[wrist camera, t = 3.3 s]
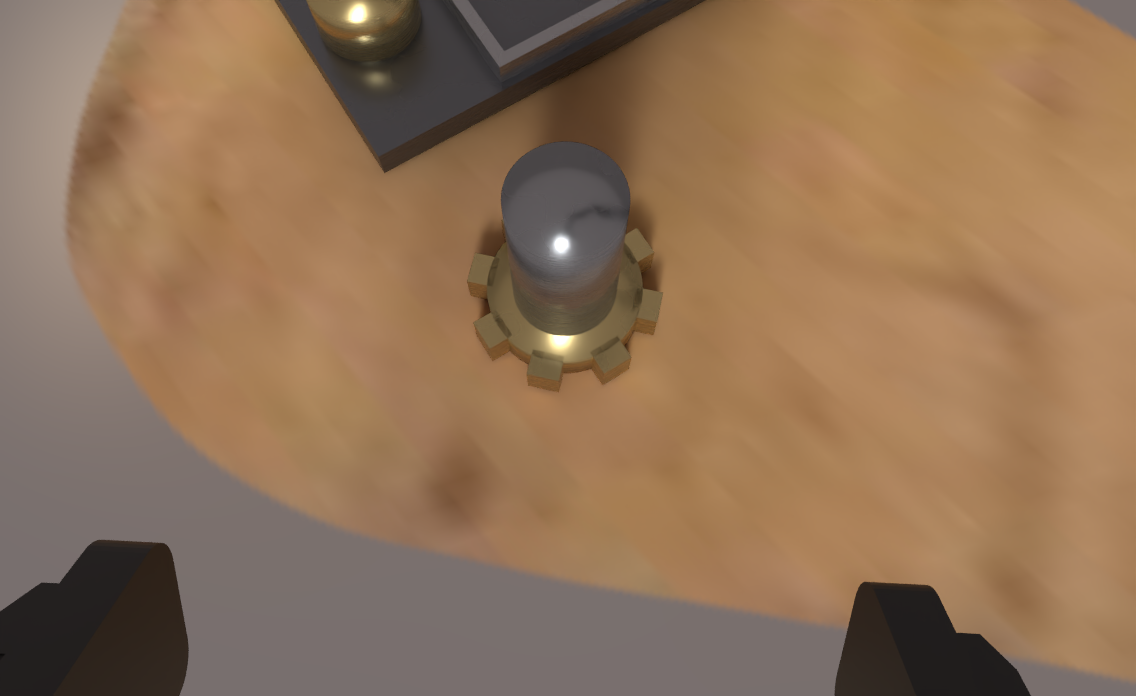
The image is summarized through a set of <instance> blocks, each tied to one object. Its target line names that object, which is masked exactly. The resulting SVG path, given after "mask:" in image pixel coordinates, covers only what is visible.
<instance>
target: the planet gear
mask: <svg viewBox="0 0 1136 696" xmlns="http://www.w3.org/2000/svg"><path fill="white" fill-rule="evenodd" d="M501 206H502V214H503V220H501V221H502V228H503V235H504V238H505V239H506V242H505V243H504V244H503V245H502V246H501V248H500V249H499V251H498V252H497V254H496V256H495V257H493V256H488V255H483V254H478V253H475V255H474V259H473V262H472V266H471V269H470V273H469V276H468V280H467V283H468V287H469V290H470V294H471V296H473V297H478V298H483V299H487V300H488V303H489V308H490V313H489V314H487V315H486V316H484V317H482V318H481V319H479V320H477V321H475V322H474V323H473V324H474V327H475V331H476V335H477V337H478V339H479V340H480V342H481V343H482V345H483V346H484V348H485V350H486V351H487V353H488V354H489V356H490V358H491V359H492V361H494V360H495V359H497V358H499V357H500V356H502V355H504V354H505V353H507V352H509V351H511V352H512V353H513V354H514V355H515V356H516V357H518V358H519V359H520V360H522V361H523V362H525V363H527V364H529V367H528V371H527V380H528V386H533V387H538V388H542V389H547V390H551V391H556V392H559V390H560V385H561V381H562V377H563V373H575V372H581V371H585V370H589V369H592V370H593V372H594V373H595V375H596V376H597V378H598V379H599V381H600V382H601V384H602V385H603V384H605V383H607V382H608V381H610V380H612V379H613V378H615V377H617V376H618V375H620V374H621V373H623V372H625V371H626V370H628V369H629V366H630V362H631V356H630V354H629V353H628V351H627V350H626V348H625V347H624V345H625V344H626V343H627V342H628V340H629V338H630V337H631V335H632V333H633V331H636V332H641V333H645V334H650V335H653V334H654V330H655V327H656V323H657V319H658V314H659V309H660V305H661V300H662V295H663V293H662V292H658V291H653V290H648V289H643V282H642V275H641V273H643V272H644V271H646V270H648V269H649V268H651V264H652V259H653V255H654V251H653V250H652V248H651V247H650V246H649V244H648V243H647V241H646V240H645V239H644V237H643V236H642V234H641V233H640V232H639V230H638V229H637V228H636V229H634V230H632V231H631V232H629V233H627V234H626V228H627V221H628V215H629V208H630V191H629V187H628V183H627V180H626V178H625V176H624V174H623V172H622V171H621V169H620V168H619V166H618V165H617V164H616V163H615V162H614V161H613V160H612V159H611V158H610V157H609V156H607V155H606V154H605V153H603V152H602V151H600V150H598V149H596V148H594V147H591V146H589V145H586V144H582V143H577V142H554V143H549V144H545V145H542V146H539V147H537V148H535V149H533V150H531V151H530V152H528V153H526V154H525V155H524V156H522V157H521V158H520V159H519V160H518V161H517V162H516V163H515V164H514V165H513V167H512V168H511V169H510V171H509V173H508V175H507V176H506V178H505V181H504V184H503V188H502V193H501Z"/></svg>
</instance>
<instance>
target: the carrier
mask: <svg viewBox="0 0 1136 696" xmlns="http://www.w3.org/2000/svg"><path fill="white" fill-rule="evenodd" d="M703 1H705V0H275V2H276V4H277V5H278V7H279V8H280V10H281V11H282V13H283V15H284V16H285V18H286V19H287V21H288V22H289V24H290V26H291V27H292V29H293V30H294V32H295V33H296V35H297V37H298V38H299V40H300V41H301V43H302V44H303V46H304V47H305V49H306V51H307V52H308V54H309V55H310V57H311V58H312V60H313V62H314V63H315V65H316V66H317V68H318V69H319V71H320V73H321V74H322V76H323V77H324V79H325V80H326V82H327V84H328V85H329V87H330V88H331V90H332V91H333V93H334V95H335V96H336V98H337V99H338V101H339V102H340V104H341V106H342V107H343V109H344V110H345V112H346V113H347V115H348V116H349V118H350V120H351V121H352V123H353V124H354V126H355V127H356V129H357V131H358V132H359V134H360V135H361V137H362V138H363V140H364V142H365V143H366V145H367V146H368V148H369V149H370V151H371V153H372V154H373V156H374V157H375V159H376V160H377V162H378V164H379V165H380V167H381V168H382V170H383V171H384V173H385V172H387V171H389V170H391V169H393V168H395V167H396V166H398V165H400V164H402V163H404V162H406V161H408V160H409V159H411V158H413V157H415V156H417V155H419V154H421V153H422V152H424V151H426V150H428V149H430V148H432V147H434V146H435V145H437V144H439V143H441V142H443V141H445V140H447V139H448V138H450V137H452V136H454V135H456V134H458V133H460V132H462V131H463V130H465V129H467V128H469V127H471V126H473V125H475V124H476V123H478V122H480V121H482V120H484V119H486V118H488V117H489V116H491V115H493V114H495V113H497V112H499V111H501V110H502V109H504V108H506V107H508V106H510V105H512V104H514V103H515V102H517V101H519V100H521V99H523V98H525V97H527V96H528V95H530V94H532V93H534V92H536V91H538V90H540V89H541V88H543V87H545V86H547V85H549V84H551V83H553V82H554V81H556V80H558V79H560V78H562V77H564V76H566V75H567V74H569V73H571V72H573V71H575V70H577V69H579V68H580V67H582V66H584V65H586V64H588V63H590V62H592V61H594V60H595V59H597V58H599V57H601V56H603V55H605V54H607V53H608V52H610V51H612V50H614V49H616V48H618V47H620V46H621V45H623V44H625V43H627V42H629V41H631V40H633V39H634V38H636V37H638V36H640V35H642V34H644V33H646V32H647V31H649V30H651V29H653V28H655V27H657V26H659V25H660V24H662V23H664V22H666V21H668V20H670V19H672V18H673V17H675V16H677V15H679V14H681V13H683V12H685V11H686V10H688V9H690V8H692V7H694V6H696V5H698V4H699V3H701V2H703Z"/></svg>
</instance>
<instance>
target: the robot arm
mask: <svg viewBox="0 0 1136 696" xmlns="http://www.w3.org/2000/svg"><path fill="white" fill-rule="evenodd" d="M188 651H189V650H188V638H187V634H186V627H185V622H184V616H183V611H182V605H181V600H180V595H179V589H178V583H177V578H176V572H175V567H174V562H173V557H172V553H171V551H170V549H169V547H168V546H167V545H166V544H164V543H152V542H132V541H113V540H97V541H95V542H93V543H92V544H90V545H89V546H88V547H87V548H86V549H85V551H84V552H83V553H82V555H81V556H80V557H79V558H78V560H77V561H76V562H75V564H74V565H73V566H72V568H71V569H70V570H69V572H68V573H67V574H66V575H65V577H64V578H63V579H62V581H61V582H60V583H59V584H57V583H40V584H39V585H37V586H36V587H35V588H33V589H32V590H30V591H29V592H28V593H26V594H25V595H23V596H22V597H20V598H19V599H17V600H16V601H15V602H13V603H12V604H10V605H9V606H7V607H6V608H5V609H3V610H2V611H0V696H179V695H180V692H181V689H182V687H183V683H184V680H185V676H186V670H187V664H188ZM835 696H1031V695H1030V694H1029V691H1028V690H1027V688H1026V686H1025V684H1024V682H1023V680H1022V679H1021V676H1020V675H1019V673H1018V671H1017V669H1015V668H1014V667H1013V666H1012V665H1011V664H1010V663H1009V662H1008V661H1007V660H1006V659H1005V658H1004V657H1003V656H1002V655H1001V654H1000V653H999V652H998V651H997V650H996V649H995V648H994V647H993V646H992V645H991V644H990V643H988V642H987V641H986V640H985V639H984V638H983V637H982V636H981V635H980V634H968V633H956V631H955V629H954V627H953V625H952V623H951V621H950V619H949V617H948V615H947V613H946V611H945V609H944V606H943V604H942V602H941V600H940V598H939V596H938V594H937V593H936V591H935V590H934V589H933V588H932V587H931V586H928V585H915V584H896V583H877V582H863V583H862V584H861V585H860V587H859V588H858V591H857V593H856V597H855V601H854V605H853V609H852V613H851V618H850V622H849V626H848V630H847V635H846V639H845V643H844V647H843V651H842V656H841V660H840V664H839V668H838V672H837V677H836V684H835Z"/></svg>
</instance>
